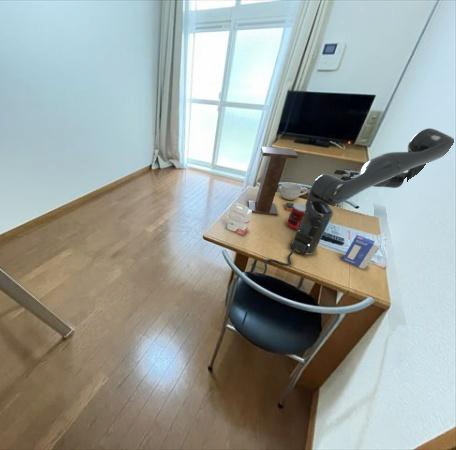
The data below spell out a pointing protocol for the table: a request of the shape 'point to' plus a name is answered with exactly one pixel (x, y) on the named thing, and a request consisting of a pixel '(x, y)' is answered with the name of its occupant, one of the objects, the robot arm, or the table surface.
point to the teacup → (291, 191)
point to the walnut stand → (270, 179)
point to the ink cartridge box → (239, 218)
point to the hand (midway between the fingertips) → (337, 175)
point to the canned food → (296, 215)
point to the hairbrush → (289, 206)
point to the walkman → (361, 251)
